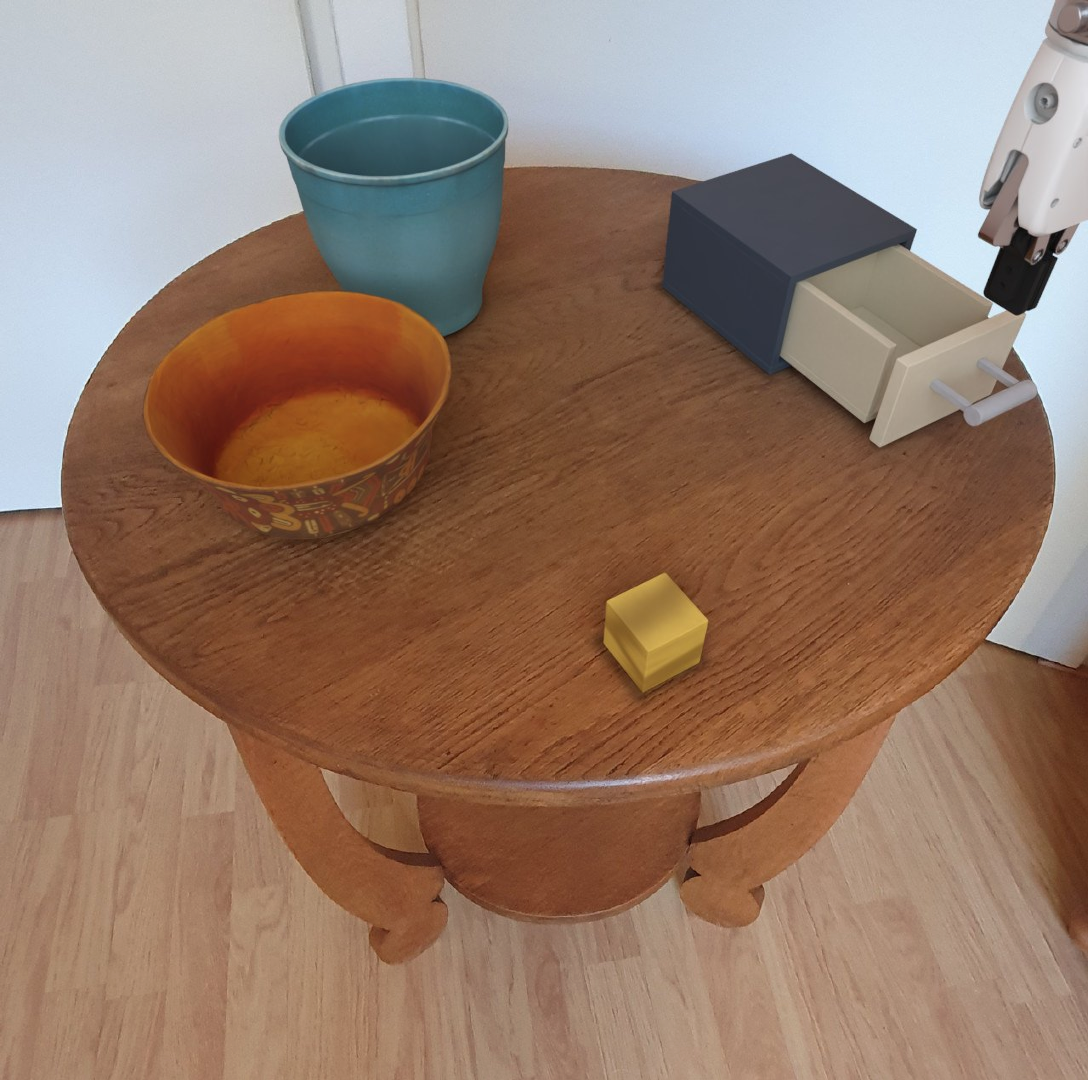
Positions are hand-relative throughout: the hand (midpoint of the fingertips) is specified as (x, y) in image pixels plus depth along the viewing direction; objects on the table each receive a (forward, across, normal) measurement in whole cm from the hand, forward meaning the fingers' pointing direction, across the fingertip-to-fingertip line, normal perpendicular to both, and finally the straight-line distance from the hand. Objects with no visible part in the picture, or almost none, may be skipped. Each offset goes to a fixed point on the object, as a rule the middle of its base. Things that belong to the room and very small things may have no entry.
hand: (1008, 302), depth 65 cm
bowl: (+13, -44, +22) cm, 51 cm away
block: (+13, -32, -4) cm, 35 cm away
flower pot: (+13, -28, +39) cm, 49 cm away
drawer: (+12, 0, +7) cm, 14 cm away
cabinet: (+13, 0, +22) cm, 25 cm away
